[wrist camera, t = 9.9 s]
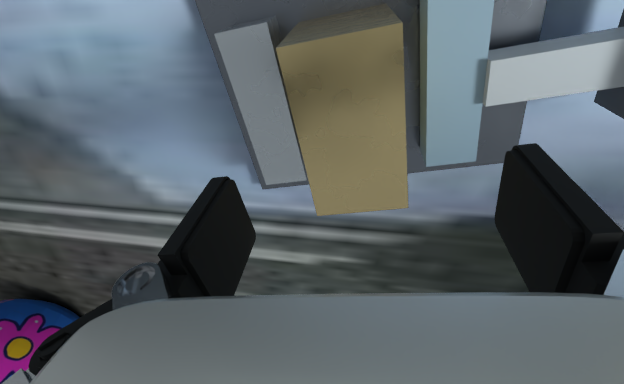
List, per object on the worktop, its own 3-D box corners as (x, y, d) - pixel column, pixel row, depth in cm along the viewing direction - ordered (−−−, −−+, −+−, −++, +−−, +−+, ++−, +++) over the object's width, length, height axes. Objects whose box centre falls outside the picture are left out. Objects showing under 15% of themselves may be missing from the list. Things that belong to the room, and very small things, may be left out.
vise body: (555, -99, 15) (602, -113, 12) (509, 154, 23) (531, 181, 20) (199, -8, 19) (172, -3, 16) (265, 182, 27) (255, 208, 24)
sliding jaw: (670, -73, 14) (770, -84, 11) (600, 128, 20) (651, 162, 16) (419, -17, 16) (437, -11, 13) (420, 150, 22) (432, 184, 19)
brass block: (385, 3, 17) (402, 22, 12) (393, 146, 22) (408, 207, 17) (298, 22, 18) (275, 47, 13) (325, 155, 23) (317, 216, 18)
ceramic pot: (77, 354, 51) (-6, 474, 39) (-33, 293, 43) (-182, 421, 31) (148, 335, 45) (74, 471, 33) (35, 258, 37) (-120, 402, 24)
